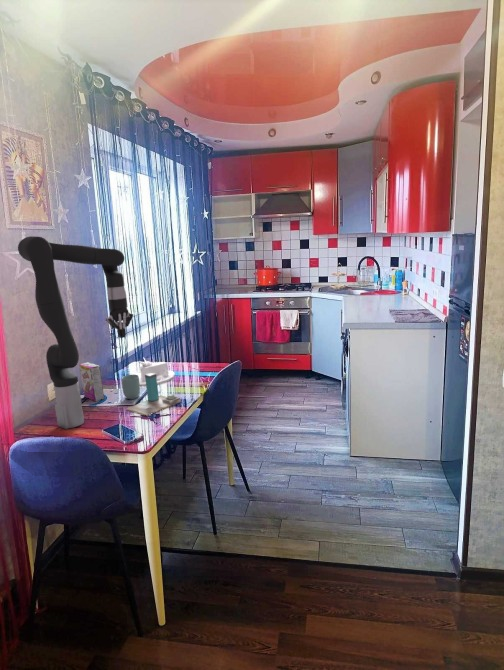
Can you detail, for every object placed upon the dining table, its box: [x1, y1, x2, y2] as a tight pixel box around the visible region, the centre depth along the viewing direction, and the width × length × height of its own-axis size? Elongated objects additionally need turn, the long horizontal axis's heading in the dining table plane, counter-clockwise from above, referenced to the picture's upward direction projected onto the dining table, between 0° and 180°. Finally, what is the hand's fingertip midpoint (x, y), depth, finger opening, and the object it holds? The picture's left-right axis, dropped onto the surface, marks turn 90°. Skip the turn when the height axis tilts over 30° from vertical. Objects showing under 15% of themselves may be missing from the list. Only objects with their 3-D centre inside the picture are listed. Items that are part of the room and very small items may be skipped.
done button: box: [166, 393, 176, 400], centre depth 207 cm, size 3×3×2 cm
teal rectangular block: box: [145, 373, 159, 402], centre depth 209 cm, size 4×4×12 cm
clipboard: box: [126, 394, 182, 417], centre depth 205 cm, size 19×14×2 cm
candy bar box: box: [78, 361, 105, 402], centre depth 219 cm, size 11×5×16 cm, turn 47°
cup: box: [120, 374, 141, 400], centre depth 217 cm, size 8×8×10 cm
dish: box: [132, 356, 176, 387], centre depth 245 cm, size 25×25×11 cm
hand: (122, 337), depth 201 cm, fingers closed
